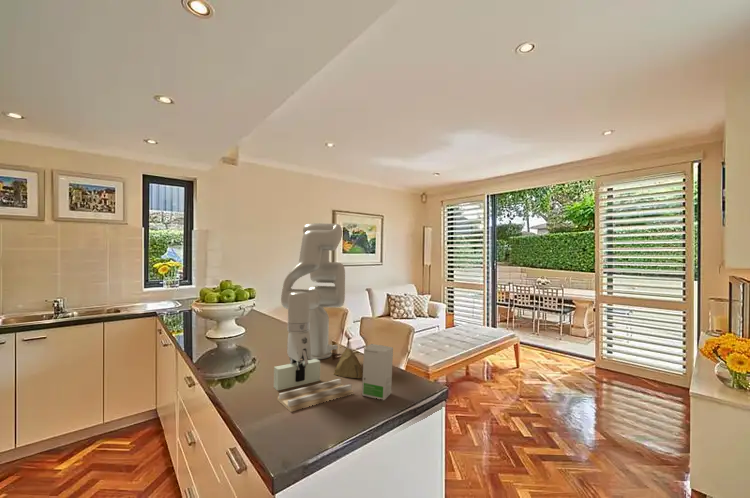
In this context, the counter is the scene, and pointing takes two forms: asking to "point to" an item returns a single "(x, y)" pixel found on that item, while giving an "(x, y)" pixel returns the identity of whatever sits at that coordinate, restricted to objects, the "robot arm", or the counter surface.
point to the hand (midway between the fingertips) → (297, 378)
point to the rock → (348, 365)
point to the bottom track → (314, 394)
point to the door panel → (287, 374)
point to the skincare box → (377, 371)
